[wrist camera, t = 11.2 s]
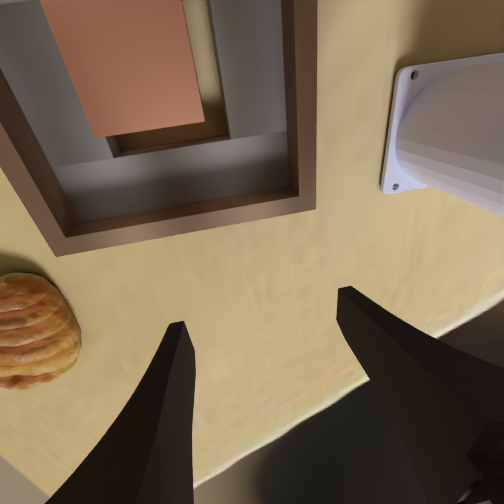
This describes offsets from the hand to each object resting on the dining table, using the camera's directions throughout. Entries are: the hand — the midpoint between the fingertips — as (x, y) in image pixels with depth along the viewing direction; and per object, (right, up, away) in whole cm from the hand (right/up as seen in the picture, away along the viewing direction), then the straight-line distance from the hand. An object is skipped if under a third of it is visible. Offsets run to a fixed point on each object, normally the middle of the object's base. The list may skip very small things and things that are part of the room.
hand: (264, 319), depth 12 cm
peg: (-6, +13, +2) cm, 14 cm away
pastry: (-18, -2, +10) cm, 21 cm away
